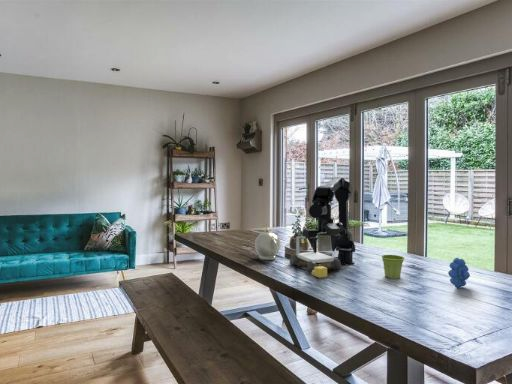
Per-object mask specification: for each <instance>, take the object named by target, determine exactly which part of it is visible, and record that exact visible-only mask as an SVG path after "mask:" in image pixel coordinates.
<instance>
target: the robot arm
mask: <svg viewBox="0 0 512 384" xmlns="http://www.w3.org/2000/svg"><path fill="white" fill-rule="evenodd" d="M352 193H353V187H352V185H351V182H349V181H347V180H345V178H344V177H343V176H334V177H332V179H331V180H329V181H328V182H327V183H326V184H325V185H320V186H317V187H316V189H314V193H313V196H312V201H311V203H313V204H312V205H310V207H309V209H308V213H309V215H310V217H311V218H314V219H315V220H316V221H317V227H315V229H314V228H306V229H305V228H304V229H303V230H302V236H305V238H304V239H307V241H308V242H309V244H310V246H311V248H312V252H314V253H316V251H317V252H318V243H317V244H316V241H317V242H318V239H319V237H318V236H319V235H328V236H330V243H331V244H330V245H331V251H332V252H335V251H336V252H338V254H337V258H338V259H339V260H340V263H341V265H343V266H345V265H354V264H355V262H353V254H354V253H356V244H355V242H354V240H353V234H352V233H351V232H350V227H349V226H350V222H349V201H350V199H351V197H352ZM334 198H335V200H336V201H337V202H338V203H337V204H338V205H337V206H338V222H337V223H335V222H334V218H332V204H333V203H332V202H333V201H334ZM316 236H317V238H316Z"/></svg>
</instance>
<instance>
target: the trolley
mask: <svg viewBox="0 0 512 384" xmlns="http://www.w3.org/2000/svg"><path fill="white" fill-rule="evenodd" d="M316 238H318V235H317V236H316ZM300 239H306V238H305V236H303V235H297V236H295V254H291V255H290V257H289V258H290V259H289V261H290V264H291V265H292V266H297V265H298V264H299V262H300V259H301V260H303V261H306V262H307V263H306V268H307V271H308V272H309V273H311V274H312V270H314V267H318V266H317V264H321V263H327V262H328V263H329V262H330V266H331V269H332V270H340V269H341V266H342V264H341V263H340V260H339V259H338V257H337V258H336V257H333V256H330V255H328V254H324V253H322V252H319V251H318V250H317V251H316V253H314V251H309V252H300ZM316 244H317V245H318V240H317V241H316Z"/></svg>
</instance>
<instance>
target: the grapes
mask: <svg viewBox="0 0 512 384" xmlns="http://www.w3.org/2000/svg"><path fill="white" fill-rule="evenodd" d="M448 266H449V268H450V269H449V270H448V271H447V274H448V276H449V277H450V279H449V282H450V284H451V285H453V286H454V287H455V288H456V289H460V288H462V287H465V286H466V285H467V281H466V280H468V279H469V278H470V277H471V273H470V272H469V270H470V269H469V267H468V265H467V264H466V261H465V260H464V259H463V258H459V257H455V258H454V259H453V260H452V262H450V263H449V265H448Z"/></svg>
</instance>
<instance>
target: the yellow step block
mask: <svg viewBox="0 0 512 384" xmlns="http://www.w3.org/2000/svg"><path fill="white" fill-rule="evenodd" d="M311 275H312V276H315V277H317V278H318V279H319V278H320V279H321V278H327V277H328V267H326V266H323V265H318V266H317V267H314V270H312V273H311Z"/></svg>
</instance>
